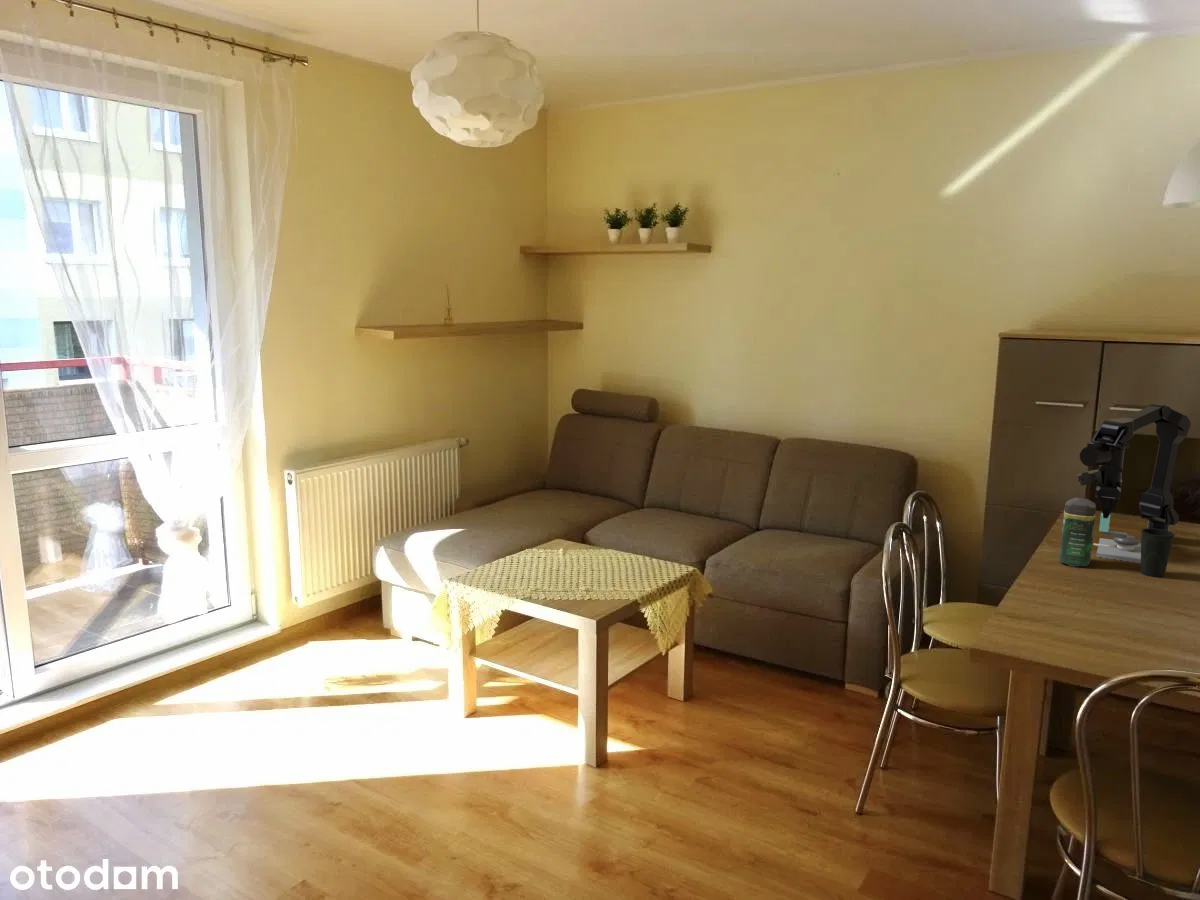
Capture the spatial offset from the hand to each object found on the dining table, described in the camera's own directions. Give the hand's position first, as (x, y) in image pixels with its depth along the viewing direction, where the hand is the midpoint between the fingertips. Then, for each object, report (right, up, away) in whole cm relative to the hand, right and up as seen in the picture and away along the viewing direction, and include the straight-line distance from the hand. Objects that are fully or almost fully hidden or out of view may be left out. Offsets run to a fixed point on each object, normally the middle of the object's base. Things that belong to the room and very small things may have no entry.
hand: (1106, 514), depth 261 cm
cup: (+1, -15, -20) cm, 25 cm away
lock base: (+5, -11, -1) cm, 12 cm away
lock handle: (+3, -8, -1) cm, 9 cm away
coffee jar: (-15, -13, -10) cm, 22 cm away
